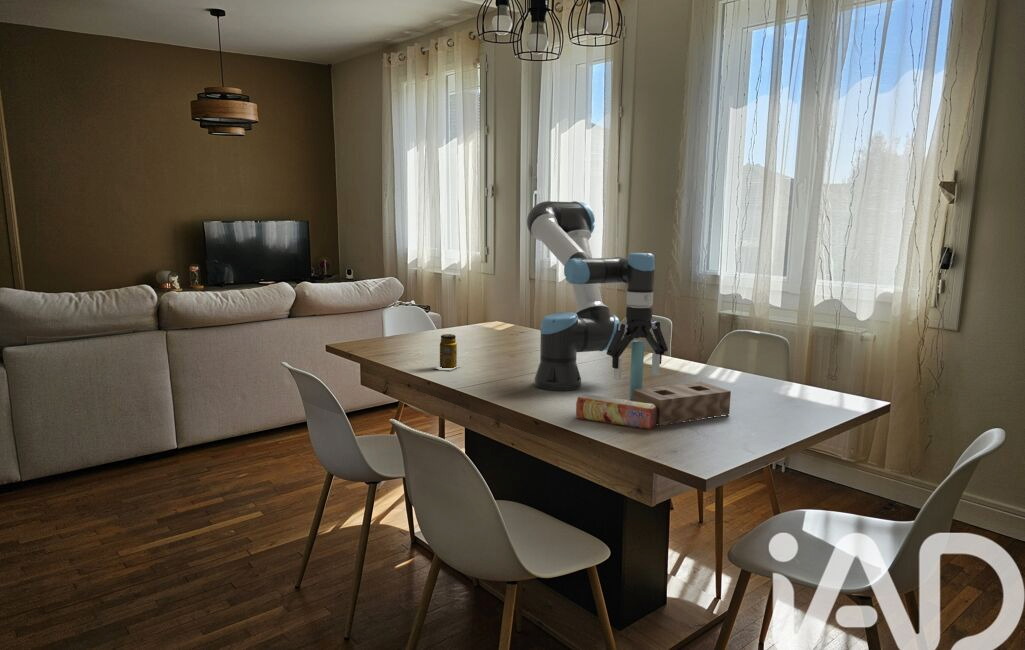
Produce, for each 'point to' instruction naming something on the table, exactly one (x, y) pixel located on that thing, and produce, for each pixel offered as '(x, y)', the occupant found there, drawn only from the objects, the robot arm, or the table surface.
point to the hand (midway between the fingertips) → (636, 377)
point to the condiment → (448, 351)
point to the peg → (636, 366)
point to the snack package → (616, 411)
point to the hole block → (685, 401)
